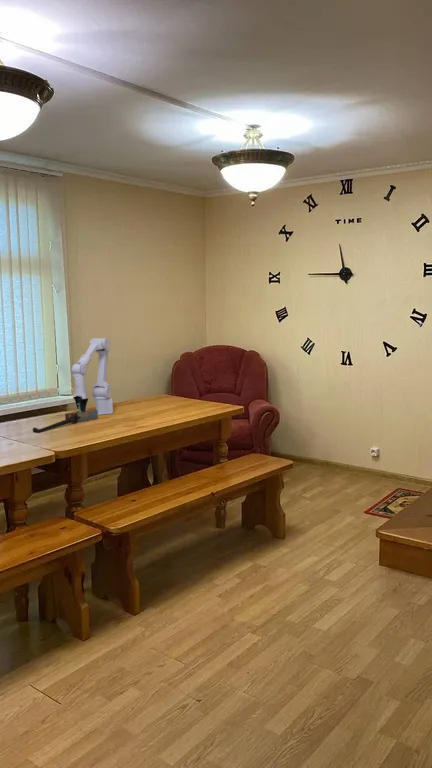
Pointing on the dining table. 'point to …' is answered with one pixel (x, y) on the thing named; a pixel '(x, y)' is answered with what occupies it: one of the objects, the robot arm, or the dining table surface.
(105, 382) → the robot arm
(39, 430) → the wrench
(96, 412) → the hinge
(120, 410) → the dining table surface
